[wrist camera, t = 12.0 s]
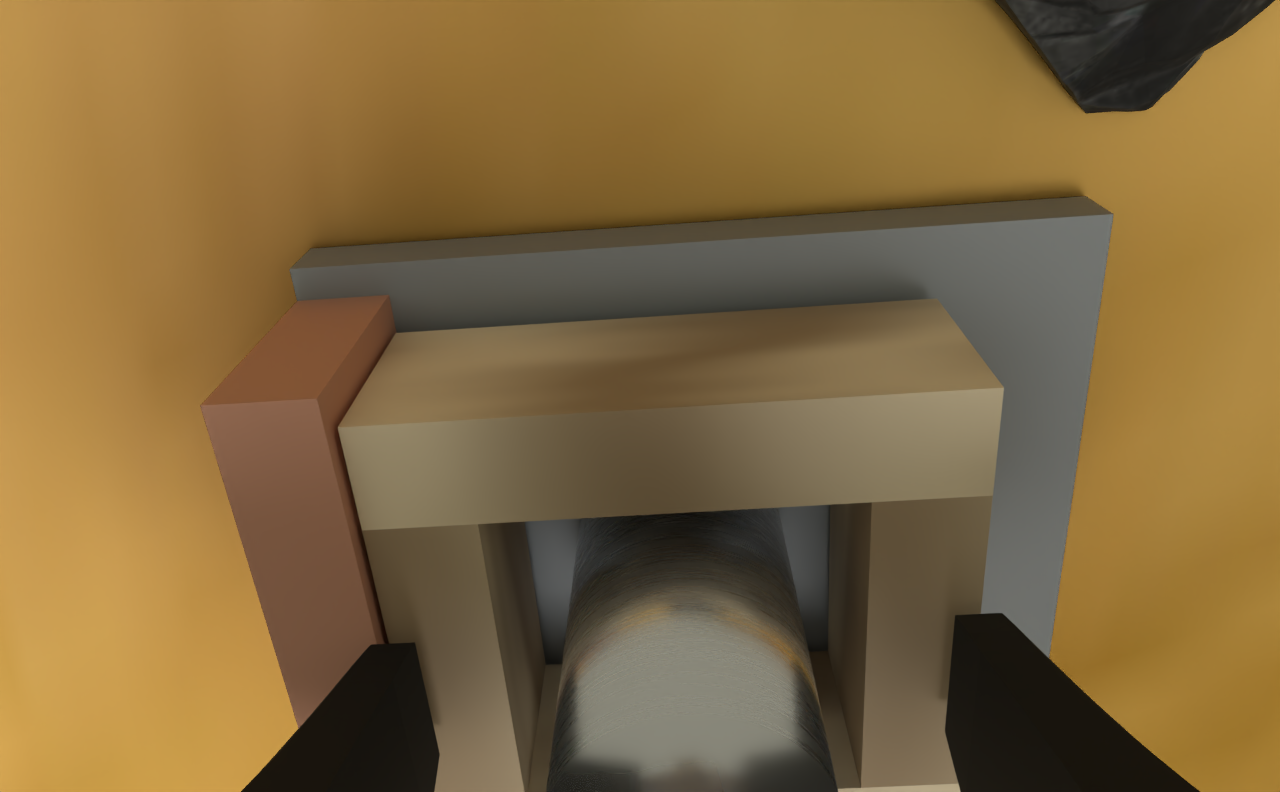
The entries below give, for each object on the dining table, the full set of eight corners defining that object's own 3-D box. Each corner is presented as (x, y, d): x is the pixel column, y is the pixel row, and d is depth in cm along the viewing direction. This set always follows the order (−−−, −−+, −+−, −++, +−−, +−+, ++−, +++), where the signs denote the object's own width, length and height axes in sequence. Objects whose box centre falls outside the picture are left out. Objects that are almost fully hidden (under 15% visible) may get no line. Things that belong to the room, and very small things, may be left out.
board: (1084, 196, 15) (1249, 301, 11) (985, 954, 23) (1058, 1179, 19) (310, 248, 15) (188, 367, 11) (477, 972, 23) (441, 1195, 19)
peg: (762, 427, 15) (820, 696, 10) (794, 596, 17) (860, 911, 12) (556, 466, 16) (506, 747, 10) (605, 629, 17) (583, 948, 12)
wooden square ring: (936, 298, 14) (1004, 387, 11) (909, 710, 18) (955, 853, 15) (396, 333, 14) (338, 427, 12) (475, 731, 18) (443, 874, 15)
